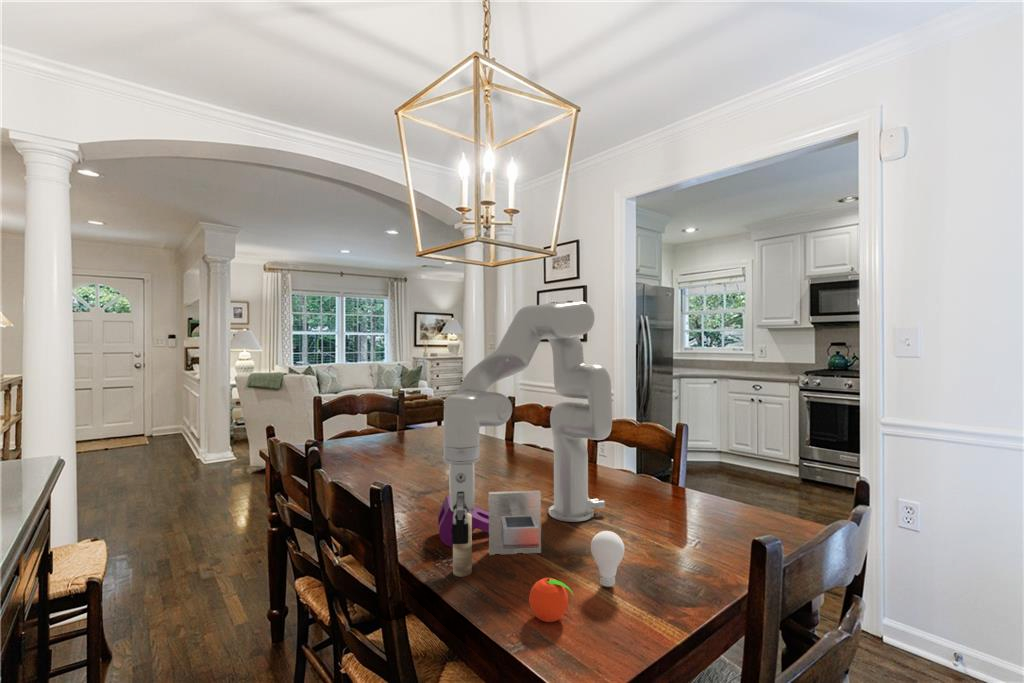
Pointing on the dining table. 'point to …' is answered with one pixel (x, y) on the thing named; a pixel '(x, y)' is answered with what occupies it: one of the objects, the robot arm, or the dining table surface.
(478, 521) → the mounting bracket
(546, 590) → the clementine
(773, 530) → the dining table surface
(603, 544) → the light bulb
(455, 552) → the maple peg
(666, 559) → the dining table surface
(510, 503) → the cup bracket
